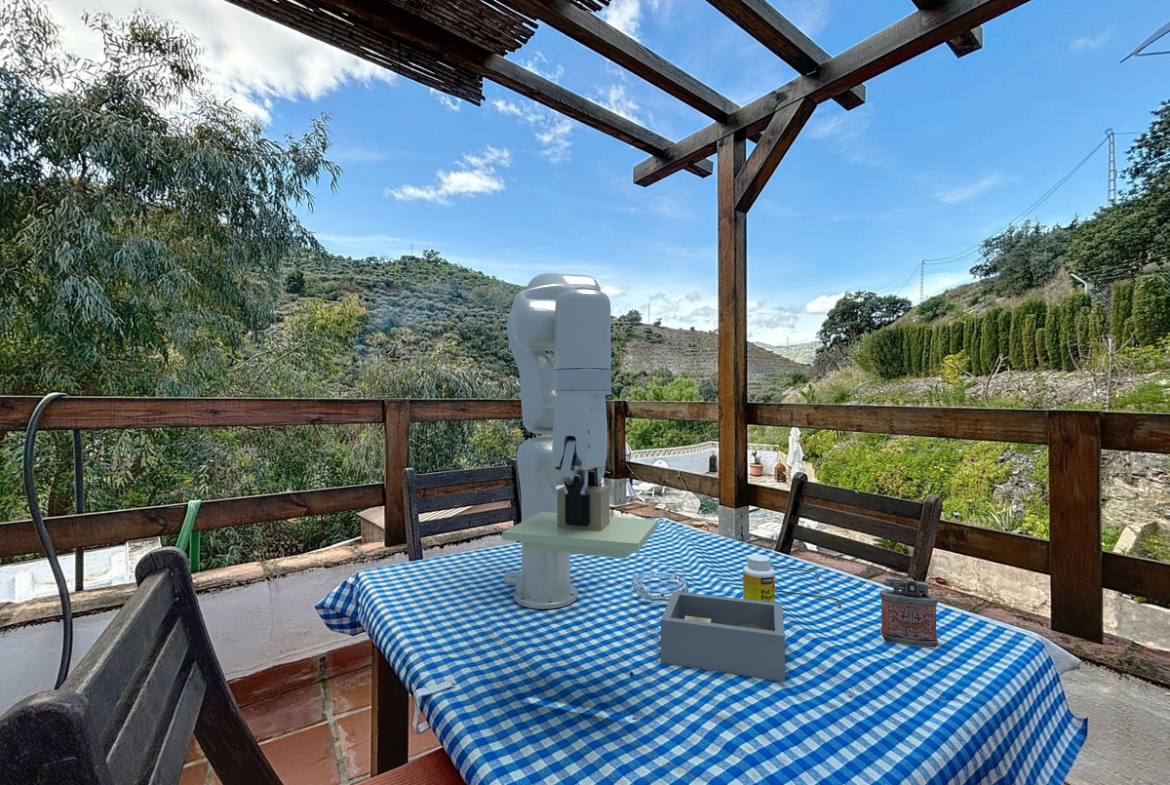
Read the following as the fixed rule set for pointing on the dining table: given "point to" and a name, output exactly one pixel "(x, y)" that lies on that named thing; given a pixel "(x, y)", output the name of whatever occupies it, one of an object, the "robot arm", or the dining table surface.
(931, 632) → the lighter
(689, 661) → the tub
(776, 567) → the eyeglasses
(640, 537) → the lid
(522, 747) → the dining table surface
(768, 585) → the supplement bottle
